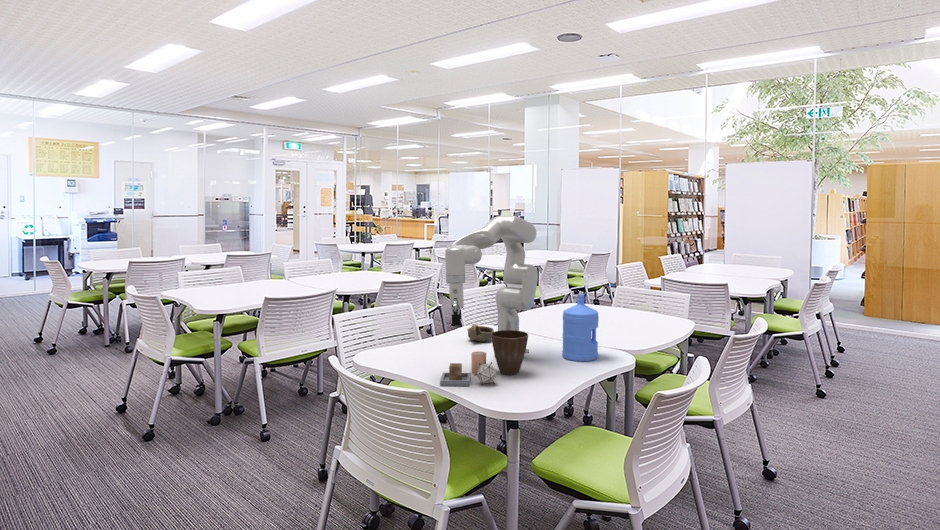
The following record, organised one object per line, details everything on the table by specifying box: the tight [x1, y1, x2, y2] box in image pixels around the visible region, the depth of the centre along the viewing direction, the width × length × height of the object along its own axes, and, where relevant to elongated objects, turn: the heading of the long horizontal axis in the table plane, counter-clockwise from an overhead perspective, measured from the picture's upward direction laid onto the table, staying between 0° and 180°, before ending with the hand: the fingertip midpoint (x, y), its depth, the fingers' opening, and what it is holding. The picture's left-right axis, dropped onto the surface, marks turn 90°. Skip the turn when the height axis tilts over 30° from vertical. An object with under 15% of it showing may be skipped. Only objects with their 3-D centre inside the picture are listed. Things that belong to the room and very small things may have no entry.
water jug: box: [561, 294, 599, 362], centre depth 250 cm, size 16×16×28 cm
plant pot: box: [491, 330, 529, 376], centre depth 227 cm, size 15×15×16 cm
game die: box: [474, 361, 500, 386], centre depth 213 cm, size 9×8×10 cm
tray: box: [439, 372, 472, 387], centre depth 216 cm, size 11×11×2 cm
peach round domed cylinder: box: [470, 350, 487, 375], centre depth 228 cm, size 6×6×8 cm
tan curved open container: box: [466, 323, 495, 343], centre depth 283 cm, size 14×18×10 cm
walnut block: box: [448, 362, 463, 380], centre depth 216 cm, size 4×4×6 cm
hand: (456, 321), depth 221 cm, fingers open, 9 cm apart
